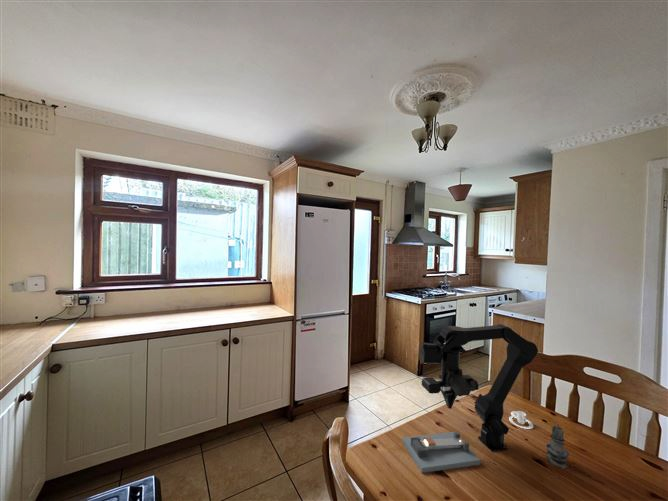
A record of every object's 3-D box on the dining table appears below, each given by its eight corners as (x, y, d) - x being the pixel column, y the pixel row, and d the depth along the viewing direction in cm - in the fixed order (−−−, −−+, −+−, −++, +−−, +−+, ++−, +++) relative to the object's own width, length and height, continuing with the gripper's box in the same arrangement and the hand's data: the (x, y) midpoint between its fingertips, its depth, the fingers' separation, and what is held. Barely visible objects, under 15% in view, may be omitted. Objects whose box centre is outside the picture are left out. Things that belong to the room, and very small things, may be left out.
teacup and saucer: (509, 413, 111) (509, 403, 111) (533, 421, 106) (533, 411, 106) (508, 424, 104) (508, 414, 104) (533, 433, 99) (534, 422, 99)
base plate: (454, 435, 96) (454, 424, 96) (480, 464, 83) (480, 451, 83) (402, 441, 92) (403, 430, 92) (421, 472, 79) (421, 459, 79)
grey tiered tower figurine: (573, 470, 82) (574, 431, 82) (552, 466, 83) (552, 428, 83) (561, 455, 88) (562, 419, 88) (541, 452, 89) (542, 417, 89)
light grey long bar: (460, 441, 91) (460, 435, 91) (466, 448, 88) (466, 441, 88) (419, 443, 88) (419, 437, 88) (423, 450, 85) (424, 443, 85)
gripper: (439, 376, 83) (438, 425, 83) (491, 372, 86) (490, 420, 86) (421, 361, 94) (420, 405, 94) (468, 358, 97) (467, 400, 97)
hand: (449, 407), depth 93 cm, fingers closed
